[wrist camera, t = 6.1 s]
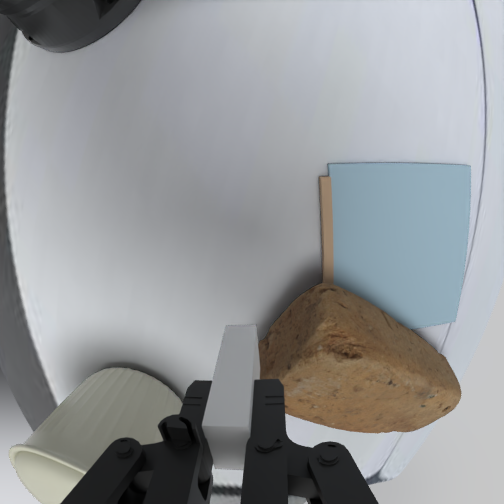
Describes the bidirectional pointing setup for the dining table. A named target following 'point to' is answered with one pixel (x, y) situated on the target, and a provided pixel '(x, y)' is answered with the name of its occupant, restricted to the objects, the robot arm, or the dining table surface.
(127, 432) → the canister
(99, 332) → the dining table surface
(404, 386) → the pitted brown rock
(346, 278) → the book
